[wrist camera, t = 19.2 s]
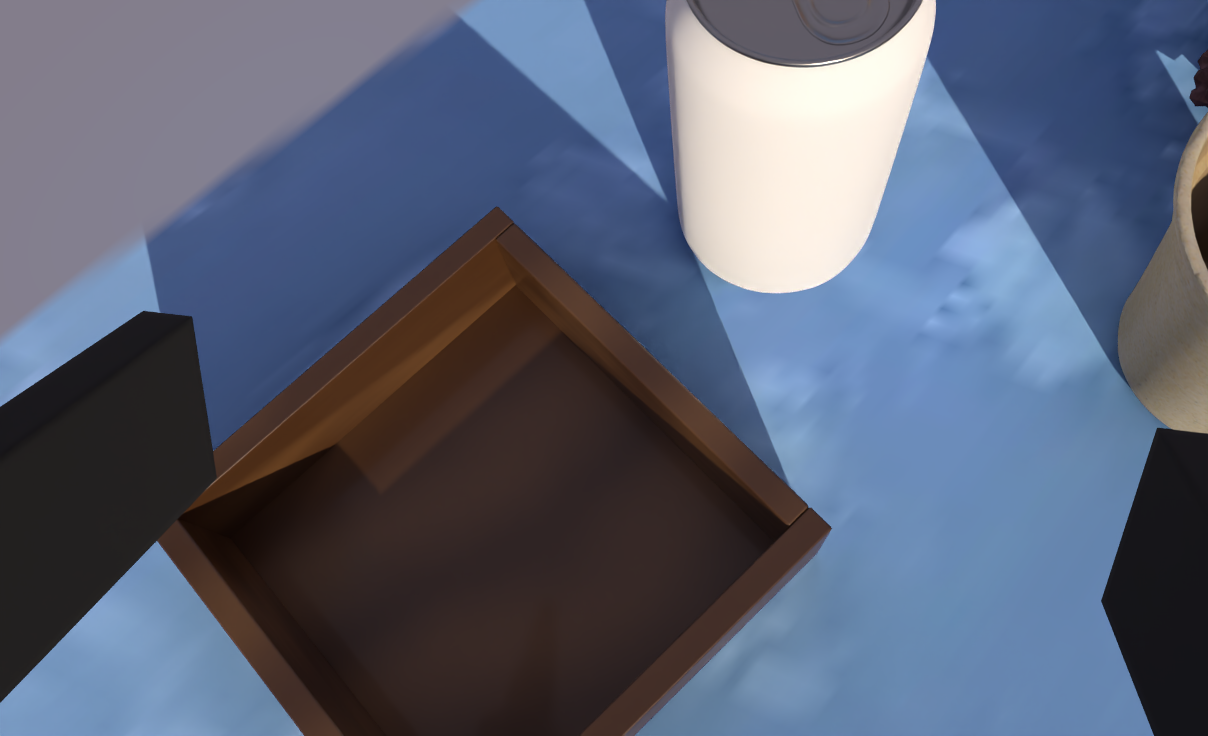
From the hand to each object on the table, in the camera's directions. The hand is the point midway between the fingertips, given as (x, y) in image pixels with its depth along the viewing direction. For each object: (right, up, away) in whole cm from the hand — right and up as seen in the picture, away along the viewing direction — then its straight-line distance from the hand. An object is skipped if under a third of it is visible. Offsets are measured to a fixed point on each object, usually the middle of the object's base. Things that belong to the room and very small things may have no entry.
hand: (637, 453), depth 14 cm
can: (+5, +6, +20) cm, 22 cm away
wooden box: (-4, -4, +17) cm, 18 cm away
